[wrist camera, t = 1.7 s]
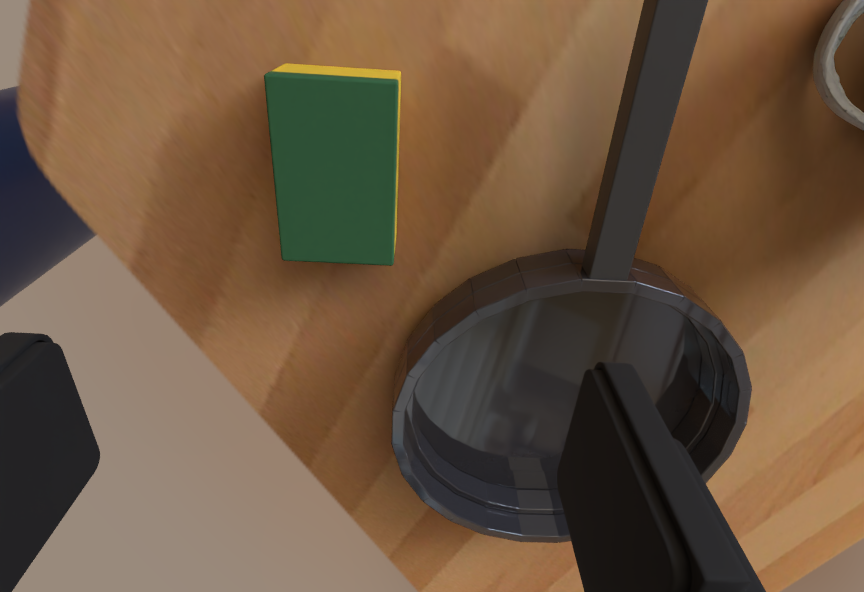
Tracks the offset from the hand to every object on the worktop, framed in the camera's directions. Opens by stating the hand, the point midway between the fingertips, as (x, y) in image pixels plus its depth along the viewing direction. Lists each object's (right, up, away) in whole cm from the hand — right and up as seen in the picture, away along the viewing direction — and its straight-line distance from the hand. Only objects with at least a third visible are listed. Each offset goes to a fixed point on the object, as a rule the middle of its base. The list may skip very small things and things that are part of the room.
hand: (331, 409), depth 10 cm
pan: (+9, -3, +19) cm, 21 cm away
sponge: (-2, +8, +12) cm, 15 cm away
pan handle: (+9, +8, +10) cm, 16 cm away
